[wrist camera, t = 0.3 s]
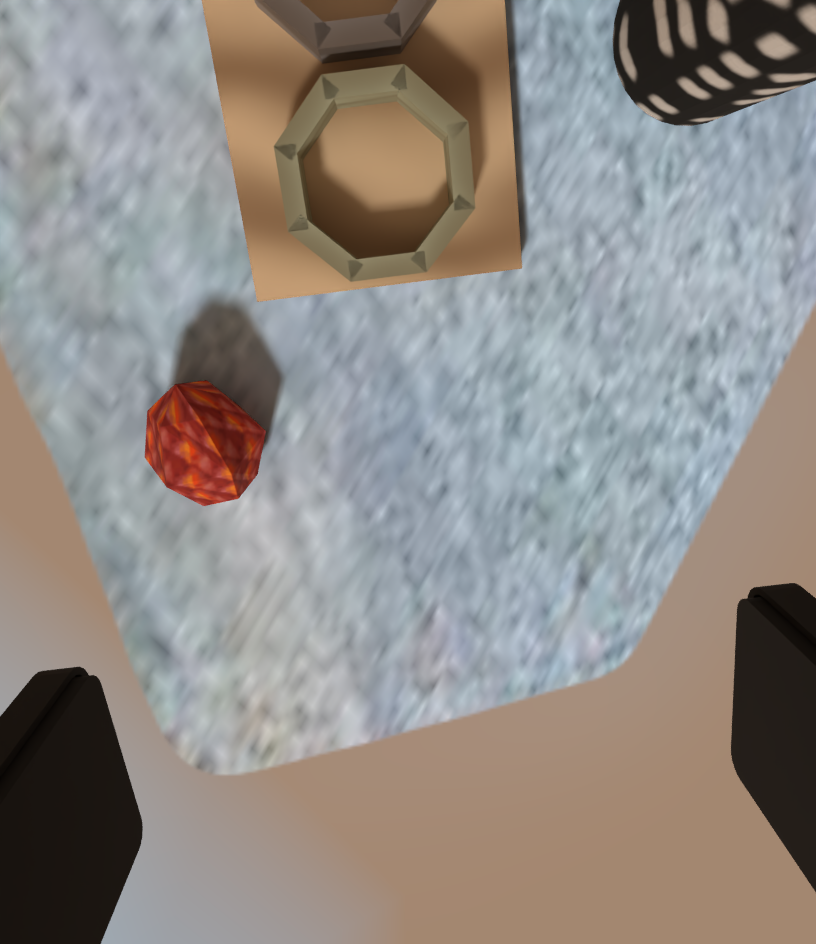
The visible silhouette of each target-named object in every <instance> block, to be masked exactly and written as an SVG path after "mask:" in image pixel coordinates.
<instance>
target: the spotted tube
mask: <svg viewBox="0 0 816 944" xmlns="http://www.w3.org/2000/svg"><path fill="white" fill-rule="evenodd" d="M613 51H614V60H615V64H616V68H617V72H618V76H619V78H620V80H621V82H622V84H623V86H624V88H625V91H626V92H627V93H628V95H629V96H630V97H631V99H632V100H633V101H634V103H635V104H636V105H637V106H638V107H640V108H641V109H642V110H643V111H644V112H645V113H647V114H648V115H650V116H652V117H654V118H656V119H657V120H659V121H662V122H665V123H669V124H673V125H685V126H692V125H697V124H703V123H707V122H710V121H713V120H715V119H718V118H720V117H723V116H725V115H728V114H731V113H733V112H736V111H738V110H741V109H743V108H746V107H748V106H751V105H754V104H756V103H759V102H761V101H764V100H766V99H769V98H772V97H774V96H777V95H779V94H782V93H784V92H787V91H789V90H792V89H795V88H797V87H800V86H802V85H805V84H807V83H810V82H812V81H815V80H816V0H620V3H619V7H618V10H617V14H616V18H615V22H614V32H613Z"/></svg>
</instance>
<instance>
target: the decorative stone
mask: <svg viewBox="0 0 816 944" xmlns="http://www.w3.org/2000/svg"><path fill="white" fill-rule="evenodd" d="M265 433H266V431H265V430H264V429H263V428H262V427H261V426H260V425H259V424H258V423H257V422H256V421H255V420H254V419H252V418H251V417H250V416H249V415H248V414H247V413H246V412H245V411H244V410H243V409H242V408H241V407H240V406H239V405H237V404H236V403H235V402H233V401H232V400H231V399H230V398H228V397H227V396H226V395H225V394H223V393H222V392H221V391H220V390H218V389H217V388H216V387H214V386H213V385H212V384H211V383H209V382H208V381H207V380H205V381H198V382H190V383H182V384H175V385H174V386H173V387H172V388H171V389H170V390H169V391H167V392H166V393H165V394H164V395H163V396H162V397H161V398H160V399H159V400H158V401H157V402H156V403H155V404H154V405H153V406H152V407H151V408H150V409H149V410H148V411H147V428H146V445H145V458H146V460H147V461H148V462H149V464H150V465H151V466H152V468H153V469H154V470H155V472H156V473H157V475H158V476H159V477H160V479H161V480H162V481H163V483H164V484H165V485H166V487H168V488H169V489H171V490H173V491H175V492H177V493H179V494H181V495H183V496H185V497H187V498H189V499H191V500H193V501H195V502H197V503H199V504H201V505H203V506H206V505H211V504H216V503H220V502H225V501H230V500H234V499H238V498H239V497H240V496H241V495H242V493H243V492H244V491H245V490H246V488H247V487H248V486H249V484H250V483H251V482H252V481H253V479H254V478H255V477H256V476H257V474H258V469H259V464H260V459H261V453H262V448H263V443H264V438H265Z"/></svg>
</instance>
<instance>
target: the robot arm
mask: <svg viewBox="0 0 816 944" xmlns="http://www.w3.org/2000/svg"><path fill="white" fill-rule="evenodd" d="M735 647H736V648H735V670H734V671H735V672H734V692H733V693H734V694H733V716H732V740H731V755H732V761H733V764H734V768H735V770H736V772H737V775H738V776H739V778H740V780H741V781H742V783H743V784H744V786H745V787H746V789H747V790H748V792H749V793H750V795H751V796H752V798H753V799H754V801H755V802H756V804H757V805H758V807H759V808H760V810H761V811H762V813H763V814H764V816H765V817H766V818H767V820H768V822H769V823H770V825H771V826H772V828H773V829H774V831H775V832H776V834H777V835H778V837H779V838H780V839H781V841H782V842H783V844H784V845H785V847H786V848H787V850H788V851H789V853H790V854H791V856H792V857H793V859H794V860H795V862H796V863H797V865H798V866H799V868H800V869H801V871H802V872H803V874H804V875H805V877H806V878H807V880H808V881H809V883H810V884H811V886H812V887H813V888H814V890H815V892H816V598H815V597H813V596H812V595H811V594H810V593H808V592H807V591H806V590H805V589H804V588H802V587H801V586H799V585H798V584H795V583H789V584H781V585H771V586H763V587H754V588H753V589H751V590H750V592H749V595H748V598H747V599H742V600H740V601H739V603H738V607H737V623H736V646H735ZM141 840H142V819H141V815H140V812H139V809H138V805H137V802H136V799H135V795H134V792H133V789H132V786H131V782H130V779H129V775H128V772H127V769H126V766H125V762H124V759H123V756H122V752H121V749H120V745H119V742H118V739H117V735H116V732H115V729H114V725H113V722H112V718H111V715H110V712H109V709H108V705H107V702H106V699H105V695H104V692H103V688H102V685H101V683H100V680H99V679H98V678H97V677H96V676H94V675H91V676H89V675H88V673H87V672H86V670H85V669H84V668H81V667H73V668H64V669H56V670H47V671H41V672H38V673H37V674H35V675H34V676H33V677H32V679H31V680H30V681H29V683H27V685H26V686H25V687H24V688H23V689H22V691H21V692H20V693H19V694H18V696H17V697H16V698H15V699H14V700H13V702H12V703H11V704H10V705H9V707H8V708H7V709H6V711H5V712H4V713H3V714H2V715H1V716H0V944H101V941H102V939H103V936H104V934H105V931H106V929H107V926H108V924H109V921H110V919H111V917H112V914H113V912H114V909H115V907H116V904H117V902H118V900H119V897H120V895H121V892H122V890H123V887H124V885H125V882H126V880H127V878H128V875H129V873H130V870H131V868H132V865H133V863H134V860H135V858H136V855H137V853H138V851H139V848H140V845H141Z"/></svg>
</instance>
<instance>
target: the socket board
mask: <svg viewBox="0 0 816 944" xmlns="http://www.w3.org/2000/svg"><path fill="white" fill-rule="evenodd" d="M202 4H203V9H204V15H205V20H206V25H207V31H208V36H209V42H210V47H211V52H212V58H213V63H214V69H215V74H216V80H217V85H218V90H219V96H220V101H221V107H222V112H223V117H224V123H225V128H226V134H227V139H228V145H229V150H230V155H231V161H232V166H233V172H234V177H235V183H236V188H237V193H238V199H239V204H240V210H241V215H242V220H243V226H244V231H245V237H246V242H247V248H248V253H249V258H250V264H251V269H252V275H253V280H254V285H255V291H256V296H257V302H259V301H267V300H275V299H283V298H291V297H299V296H307V295H315V294H323V293H331V292H339V291H347V290H354V289H362V288H370V287H378V286H386V285H394V284H402V283H410V282H418V281H426V280H434V279H442V278H449V277H457V276H465V275H473V274H481V273H489V272H497V271H505V270H513V269H521V268H522V261H521V245H520V230H519V214H518V199H517V183H516V168H515V152H514V137H513V122H512V106H511V91H510V75H509V60H508V44H507V29H506V13H505V0H202Z"/></svg>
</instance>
